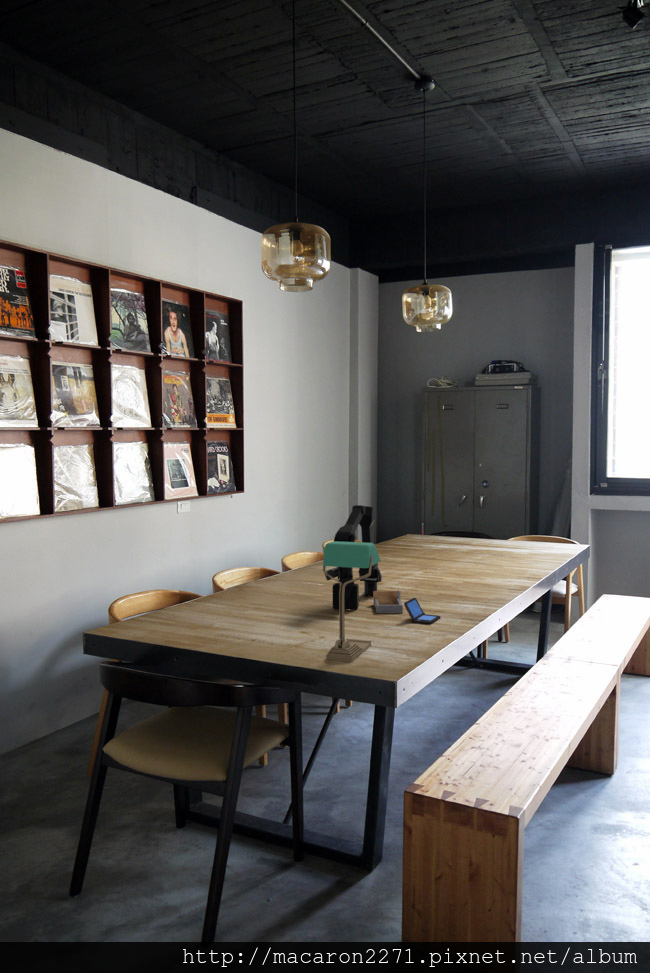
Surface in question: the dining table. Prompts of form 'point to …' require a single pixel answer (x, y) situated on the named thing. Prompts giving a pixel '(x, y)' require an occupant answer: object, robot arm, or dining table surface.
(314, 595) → the dining table surface
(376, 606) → the grey shallow open box
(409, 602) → the handheld game console
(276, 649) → the dining table surface
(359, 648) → the banker's lamp
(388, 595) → the rectangular wooden block
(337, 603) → the electronic device
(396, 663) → the dining table surface
